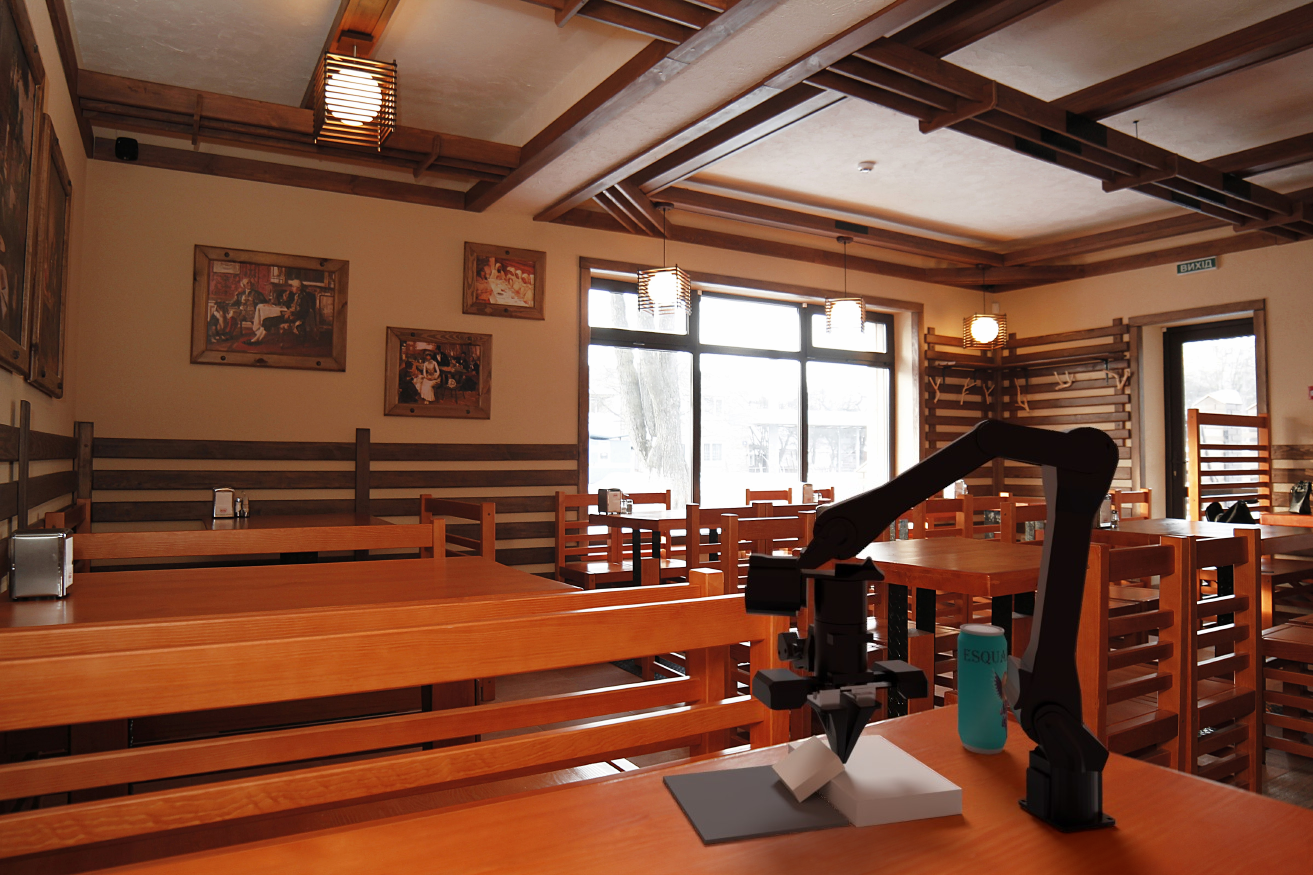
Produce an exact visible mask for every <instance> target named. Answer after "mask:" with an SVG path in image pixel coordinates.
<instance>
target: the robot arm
mask: <svg viewBox="0 0 1313 875" xmlns="http://www.w3.org/2000/svg"><path fill="white" fill-rule="evenodd" d="M994 459H1002V460H1006V461H1011V462H1016V463H1021V464H1025V465H1030V466H1036V467H1040V469H1041V483H1042V488H1043V489H1042V490H1043V493H1044V501H1045V505H1046V521H1045V529H1044V536H1043V543H1042V551H1041V559H1040V565H1039V572H1038V579H1037V580H1038V581H1037V586H1036V594H1035V602H1034V609H1033V618H1032V624H1031V631H1030V640H1029V643H1028V645H1027V647H1026V649H1025V651H1024V653H1023V655H1022V656H1021V658H1020V657H1016V656H1015V655H1010V654H1009V655H1008V654H1007V680H1006V683H1005V685H1004V687H1003V688H1002V691H1003V693H1004V694H1005V696H1006V698H1007V704H1008V706H1009V709H1010V711H1011V713H1012V714H1013V716H1014V718H1015V719H1016V721H1017V723H1018V724H1019V726H1020V727H1021V728H1020V729H1021V730H1022V731H1023V732H1024V734H1025V735H1026V736H1027V738H1029V740H1031V741H1032V742H1034V743H1035V744H1037V746H1035V747H1034V749H1032V750H1029V751H1028V766H1027V767H1026V768H1025V776H1026V777H1025V778H1026V779H1025V782H1026V784H1025V785H1026V787H1025V788H1026V789H1025V790H1026V792H1025V793H1026V794H1025V795H1026V797H1025V798H1020V799H1018V800H1017V802H1018V804H1017V805H1019V806H1020V807H1022V808H1023V809H1025V810H1026V811H1028V812H1030V813H1031V814H1032V815H1034V816H1036V817H1038V818H1039V819H1041V820H1042V821H1044V822H1046V823H1047V824H1049V825H1051V827H1054V828H1056V829H1058V830H1059V831H1061V832H1063V833H1065V832H1066V833H1069V832H1076V831H1083V830H1091V829H1098V828H1103V827H1112V826H1116V824H1117V821H1116V818H1114V817H1113V816H1111V815H1109V814H1107V813H1105V812H1104V811H1103V810H1104V806H1103V804H1104V802H1103V801H1104V800H1103V799H1104V798H1103V796H1104V795H1103V794H1104V792H1103V789H1104V788H1103V779H1104V778H1103V772H1104V769H1105V766H1106V765H1107V761H1108V760H1109V757H1110V751H1109V750H1108V749H1107V747H1105V745H1103V743H1102V741H1100V740H1099V739H1098V737H1097V735H1095V734H1094V732H1093V731H1092V730H1091V729H1090V728H1089V726H1088V725H1087V724H1086V723H1085V722H1084V714H1083V700H1082V699H1083V698H1082V694H1083V693H1082V689H1081V682H1080V678H1079V677H1080V676H1079V671H1078V666H1077V660H1076V654H1077V645H1078V637H1079V633H1080V632H1079V631H1080V622H1081V615H1082V609H1083V602H1084V593H1085V587H1086V581H1087V580H1086V579H1087V572H1088V571H1087V570H1088V565H1089V558H1090V557H1089V556H1090V551H1091V550H1090V549H1091V545H1092V544H1091V541H1092V535H1093V530H1094V529H1093V528H1094V522H1095V518H1096V516H1097V514H1098V512H1099V511H1100V508H1101V507H1102V505H1103V503H1104V501H1105V500H1106V498H1107V496H1108V494H1109V492H1110V489H1111V487H1112V483H1113V480H1114V478H1115V475H1116V471H1117V468H1118V465H1119V461H1120V449H1119V446H1118V444H1117V443H1116V442H1115V440H1114V439H1113V438H1112V437H1111V435H1109V433H1107V432H1105V431H1104V430H1102V429H1100V428H1097V427H1093V426H1078V427H1071V428H1065V429H1062V430H1055V429H1047V428H1041V427H1035V426H1027V425H1023V424H1022V425H1021V424H1020V425H1019V424H1016V423H1015V424H1014V423H1010V422H1006V421H1004V420H1001V419H998V418H994V419H993V418H991V419H990V418H989V419H986V420H983V421H980V422H978V423H976V424H975V425H973V427H972V428H971V429H970V430H969V431H967V432H966V433H964V434H963V435H961V436H959V437H958V438H956V439H954V440H952V442H950V443H948V444H946V445H945V446H944V447H942V448H940V449H938V450H937V451H935V452H933V453H932V454H931V455H929V456H927V457H925V458H924V459H922V460H921V461H919V462H918V463H915V464H914V465H913V466H911V467H909V468H908V469H906V470H904V471H903V472H901V473H899V474H898V475H897V476H895V477H893V478H892V479H890V480H888V481H887V482H885V483H883V484H881V485H880V486H877V487H874V488H872V489H870V490H869V489H868V490H867V491H864V492H862V493H859V494H856V495H853V496H851V497H848V498H846V499H844V500H840V501H838V502H836V503H834V504H832V505H829V506H827V507H826V508H825V509H823V510H821V512H820V514H819V515H818V516H817V517H816V519H815V521H814V523H813V528H812V539H811V540H810V542H809V543H808V544H807V546H806V547H804V546H803V547H801V549H800V551H799V557H798V556H789V555H770V554H765V553H757V552H756V553H755V552H754V553H751V554H750V555H749V556H748V568H747V575H746V584H745V586H744V608H745V614H747V615H753V616H754V615H758V616H773V617H790V618H798V616H799V612H801V611H802V609H808V606H809V590H810V589H809V579H813V623H809V624H808V628H807V637H801V638H800V637H799V634H798V633H797V631H785V632H779V633H777V640H776V641H777V643H776V644H777V645H776V647H777V657H778V660H779V662H792V665H793V666H792V667H793V670H804V671H805V672H807V673H813V675H811V676H800V675H798V674H797V673H795V672H793V671H791V670H790V669H788V667H782V668H771V669H759V670H757V671H756V673H755V674H754V676H753V678H752V680H751V695H752V696H753V697H754V698H756V699H757V700H758V701H759V702H761V703H762V704H763V705H765V706H766V707H767V708H768V709H770V710H772V711H778V712H779V711H789V710H798V709H799V710H800V709H802V707H803V706H804V705H805V704H807V705H808V706H810V707H811V708H812V709H814V710H815V712H816V713H817V716H818V718H819V720H820V723H821V725H822V727H823V729H824V733H825V735H826V740H828V742H829V745H830V748H831V750H832V751H833V752H834V753H835V754H836V755H837V756H838V757H839V758H840V760H841V762H842V764H846V763H847V761H848V759H849V757H850V755H851V753H852V751H853V749H854V747H855V745H856V743H857V741H858V739H859V737H860V736H862V733H863V731H864V729H865V728H866V726H867V724H868V723H869V721H870V720H871V719H872V717H873V715H874V714H875V712H876V711H878V710H879V711H880V710H882V709H883V703H882V702H881V701H878V700H877V699H876V694H877V693H876V692H877V691H876V690H887V689H897V690H896V691H897V693H899V695H900V696H901V697H902V698H903V699H905V700H917V699H927V698H929V696H930V693H929V692H930V691H929V690H930V686H929V685H930V683H929V681H930V680H929V678H928V677H927V674H926V673H925V672H924V670H923V669H921V668H919V667H916V666H915V665H912V664H911V663H908V662H906V661H903V660H901V659H895V660H893V659H892V660H881V661H874V662H872V664H871V666H870V667H869V668H868V644H871V643H872V644H873V643H874V642H875V641H874V638H875V637H874V636H875V635H874V632H872V631H869V630H868V581H869V582H884V581H885V579H886V575H885V572H884V570H882V569H881V568H880V567H878V565H877V564H876V563H875V561H874V560H873V558H872V556H870V555H868V556H867V557H866V558H865V559H864V560H863V561H862V562H860V563H859V562H839V561H848V560H850V559H853V558H855V557H856V556H858V555H859V554H861V553H862V552H863V551H864V550H865V549H866V548H867V547H868V546H869V545H871V544H872V543H873V542H874V541H875V540H876V539H878V538H879V537H880V535H881V534H883V533H884V532H885V531H886V530H887V529H888V528H889V527H890V526H891V525H892V524H893V523H894V522H895V521H896V520H897V519H899V517H901V516H902V515H904V514H905V513H907V512H909V511H910V510H911V509H912V510H913V508H915V507H917V506H918V505H919V504H923V502H925V501H926V500H928V499H930V498H931V497H933V496H936V494H938V493H940V492H942V491H943V490H945V489H946V488H948V487H950V486H952V485H953V484H955V483H956V482H958V481H959V480H961V479H962V478H965V477H966V476H968V475H970V474H971V473H973V472H975V471H976V470H977V469H979V468H981V467H982V466H984V465H986V464H987V463H989V462H991V461H992V460H994ZM832 560H837V561H838V562H835V563H834V569H819V568H820V567H821V566H824V565H825V564H826V563H828V562H829V561H832Z"/></svg>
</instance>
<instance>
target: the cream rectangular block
mask: <svg viewBox="0 0 1313 875" xmlns="http://www.w3.org/2000/svg"><path fill="white" fill-rule="evenodd" d="M821 740H822V739H820V738H818V737H817V736H816V735H815V734H814V735H812V736H811V737H810V738H808V739H807V740H806V741H803V742H804V743H803V744H802V745H800V746H799V747H798V748H796V749H795V750H793V751H792V752H791V753H789V754H788V753H787V754H786V755H785V756H783V758H781V759H779V760H778V761H777V762H776V763H774V764H772V765H773V766H771V767H772V768H773V770H774V772H775V773H776V775H777V777H778V778H779V779H780V781H781V782H782V783H783V784H784V785H785V786H786V787H787V789H788V790H789V791H790V792H791V793H792V794H793V796H794V797H795V798H796V799H797V800H798V801H799V802H802V801H803V800H804V799H806V798H807V797H808V796H810V795H811V794H812V793H814V792H815V791H816V790H818V789H819V788H820V787H822V786H823V785H824V784H826V783H827V782H828V781H830V780H831V779H832V778H834V777H835V776H837V775H838V774H839V773H841V772H842V771H843V770H845V767H844V765H843V764H842V762H841V760H840V758H839V757H838V756H837V755H836V754H835V753H834V752H833V751H832V750H831V749H830V748H828V747H827V746H826V745H825V744H824V743H823V742H822V741H821Z"/></svg>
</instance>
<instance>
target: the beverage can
mask: <svg viewBox="0 0 1313 875" xmlns="http://www.w3.org/2000/svg"><path fill="white" fill-rule="evenodd" d="M959 628H960V632H959V634H958V636H957V732H958V735H959V738H960V742H961V744H962V746H963V747H964V748H965V749H966V750H967V751H970V752H972V753H976V754H980V755H990V756H991V755H997V754H1000V753H1002V752H1003V750H1004V748H1005V744H1006V743H1007V740H1008V699H1007V698H1006V696H1005V694H1004V693H1003V691H1002V688H1003V687H1004V685H1005V683H1006V680H1007V677H1008V667H1007V657H1008V641H1007V640H1006V637H1005V634H1004V633H1005V629H1004V628H1003V627H1001V626H996V625H991V624H986V623H964V624H962V625H960V626H959Z"/></svg>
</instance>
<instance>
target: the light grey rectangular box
mask: <svg viewBox="0 0 1313 875" xmlns="http://www.w3.org/2000/svg"><path fill="white" fill-rule="evenodd" d="M820 740H821V741H822V742H823V743H824V744H825V745H826V746H827V747H828V748H830V745H829V742H828V739H820ZM804 742H805V741H801V742H798V741H797V742H791V743H790V742H788V743H787V745H788V746H787V747H788V748H787V755H788V754H789V753H791V752H792V751H793V750H795V749H796V748H798V747H799V746H800V745H802V744H803V743H804ZM830 749H831V748H830ZM843 765H844V767H845V770H843V771H842V772H841V773H839V774H838V775H837V776H835V777H834V778H832V779H831V780H830V781H828V782H827V783H826V784H824V785H823V786H822V787H820V788H819V789H818V790H816V791H817V792H818V793H819V794H820V795H821V796H822V797H823V798H824V799H825V800H827V801H828V802H829V803H830V804H831V805H832V806H833V807H834V808H835V809H836V810H837V811H839V812H840V813H841V814H842V815H843V816H844V817H845V818H846V819H847V820H848V821H849V822H850V823H851V824H852V825H854V827H856V828H861V827H869V826H870V827H871V826H877V825H885V824H893V823H894V824H895V823H900V822H901V823H902V822H908V821H916V820H925V819H930V818H931V819H932V818H940V817H946V816H947V817H948V816H953V815H961V814H963V788H961V787H960V786H958V785H957V784H955V783H954V782H952V781H950V779H947V778H946V777H944V776H943V775H941V774H940V773H938V772H937V771H935V770H933V769H932V768H930V767H929V766H927V765H926V764H924V763H923V762H921V761H920V760H919V759H916V758H915V757H914V756H913V755H911V754H909V753H908V752H906V751H905V750H903V749H901V747H898V746H897V745H895V744H894V743H892V742H891V741H890V740H888V739H886V738H884V737H883V736H881V735H880V734H871V735H863V736H862V735H860V737H859V739H858V741H857V743H856V745H855V747H854V749H853V751H852V753H851V755H850V757H849V759H848V761H847V763H846V764H843Z"/></svg>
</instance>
